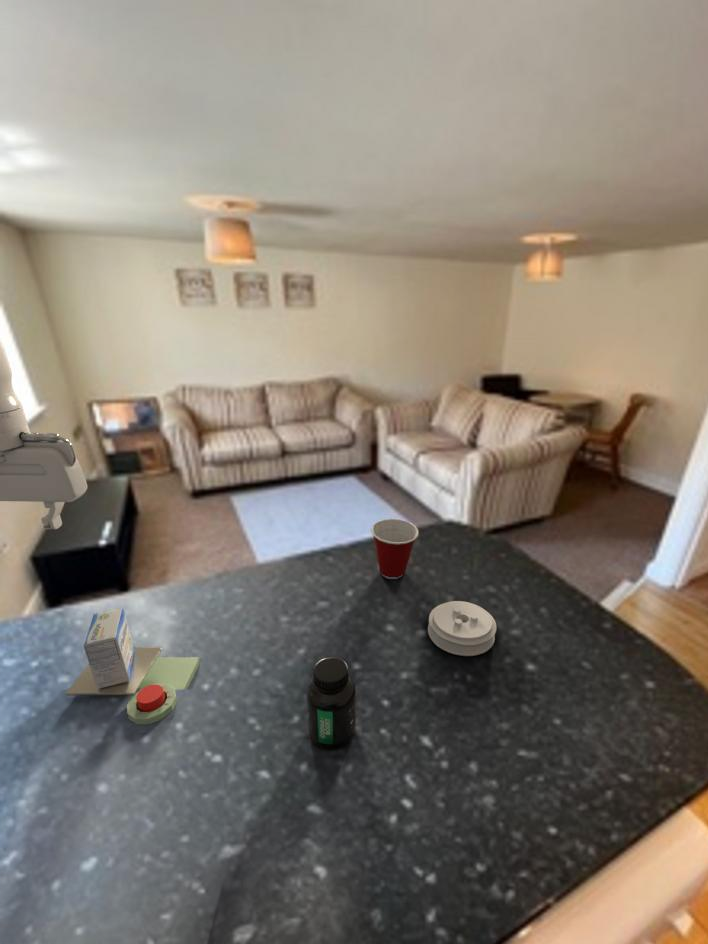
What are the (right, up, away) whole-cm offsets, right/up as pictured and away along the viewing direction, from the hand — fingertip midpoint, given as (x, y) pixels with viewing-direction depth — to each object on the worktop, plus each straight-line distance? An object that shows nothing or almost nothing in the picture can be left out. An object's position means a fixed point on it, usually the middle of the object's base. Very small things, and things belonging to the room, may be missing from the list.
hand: (20, 527), depth 64 cm
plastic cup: (+54, -13, +42) cm, 70 cm away
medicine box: (+9, -23, +8) cm, 26 cm away
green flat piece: (+12, -27, +7) cm, 30 cm away
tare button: (+18, -26, +3) cm, 32 cm away
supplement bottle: (+44, -30, +2) cm, 54 cm away
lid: (+67, -22, +22) cm, 74 cm away
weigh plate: (+9, -23, +8) cm, 26 cm away
